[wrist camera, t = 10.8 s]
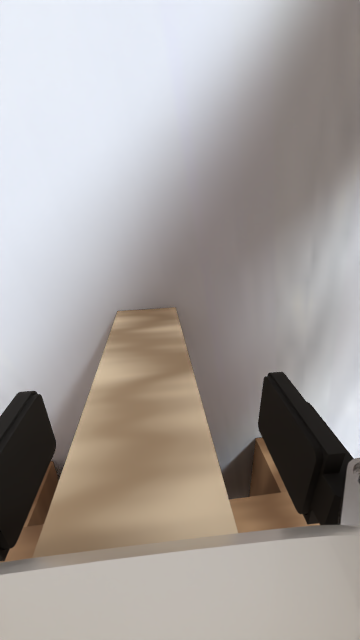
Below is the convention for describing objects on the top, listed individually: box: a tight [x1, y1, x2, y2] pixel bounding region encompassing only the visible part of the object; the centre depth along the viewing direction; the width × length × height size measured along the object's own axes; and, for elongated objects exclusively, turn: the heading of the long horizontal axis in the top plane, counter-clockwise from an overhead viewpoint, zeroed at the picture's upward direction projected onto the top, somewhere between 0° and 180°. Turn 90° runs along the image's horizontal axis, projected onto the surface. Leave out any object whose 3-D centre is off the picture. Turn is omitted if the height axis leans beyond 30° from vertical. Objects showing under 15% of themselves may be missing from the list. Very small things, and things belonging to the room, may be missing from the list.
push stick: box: [32, 307, 238, 558], centre depth 15 cm, size 13×23×16 cm, turn 2°
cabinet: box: [0, 438, 320, 563], centre depth 19 cm, size 23×12×12 cm, turn 92°
